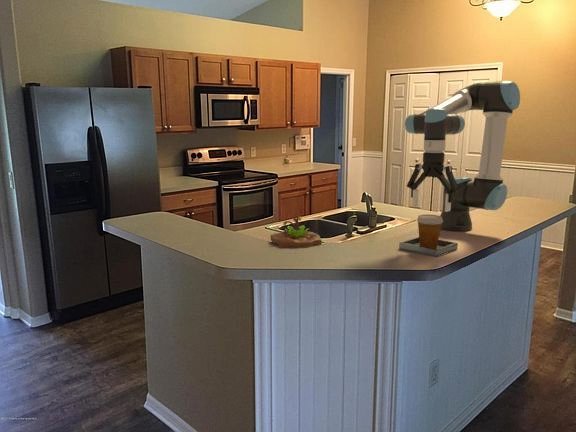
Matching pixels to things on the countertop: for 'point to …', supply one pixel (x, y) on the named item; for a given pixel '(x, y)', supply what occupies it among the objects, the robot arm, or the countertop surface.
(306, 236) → the plant
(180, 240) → the countertop surface
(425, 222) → the disposable coffee cup
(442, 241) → the grey square tray
